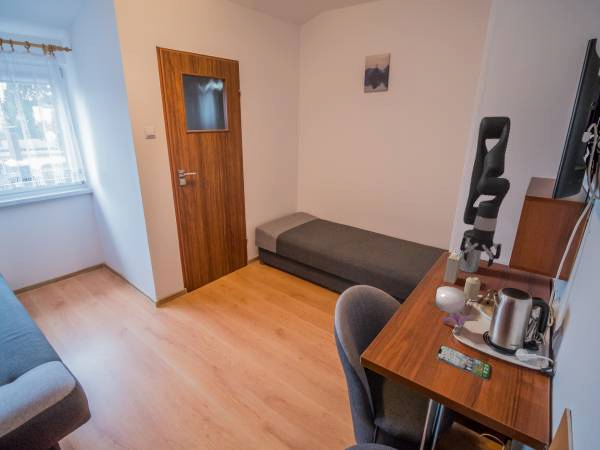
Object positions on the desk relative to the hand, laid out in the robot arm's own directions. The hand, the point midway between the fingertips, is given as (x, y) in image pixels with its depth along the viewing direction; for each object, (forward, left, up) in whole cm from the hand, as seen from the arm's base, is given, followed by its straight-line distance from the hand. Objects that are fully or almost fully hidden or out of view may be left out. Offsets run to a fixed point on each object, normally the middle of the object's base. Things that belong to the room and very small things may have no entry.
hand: (477, 263), depth 126 cm
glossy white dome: (+12, -5, -17) cm, 21 cm away
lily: (+27, +2, -17) cm, 32 cm away
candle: (0, 0, -17) cm, 17 cm away
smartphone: (+42, +8, -17) cm, 46 cm away
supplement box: (-11, -11, -17) cm, 23 cm away
